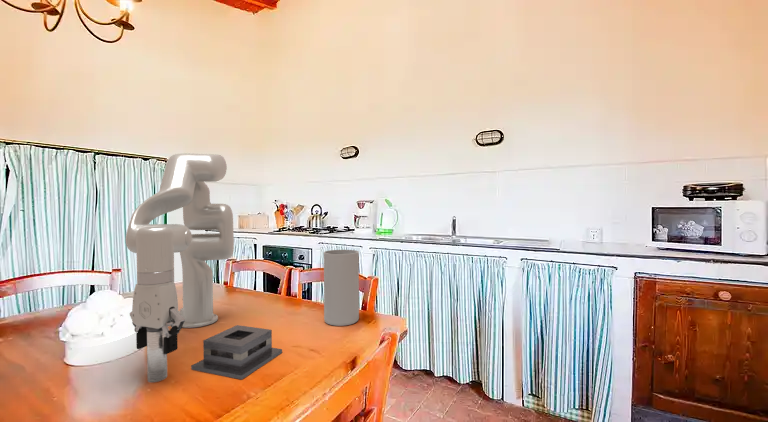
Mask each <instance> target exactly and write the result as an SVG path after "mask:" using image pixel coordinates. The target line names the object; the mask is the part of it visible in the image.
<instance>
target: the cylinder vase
mask: <svg viewBox="0 0 768 422" xmlns="http://www.w3.org/2000/svg"><path fill="white" fill-rule="evenodd" d="M359 252H360V251H359V250H355V249H332V250H331V249H330V250H325V251H323V319H324V320H323V321H324V322H325V323H326V324H328V325H329V326H330V325H331V326H333V327H334V326H335V327H336V326H337V327H342V326H343V327H345V326H350V325H354V324H356V323H357V322H358V321H359V318H360V283H359V282H360V281H359V280H360V278H359V277H360V275H359V274H360V273H359V272H360V271H359V268H360V266H359V265H360V264H359V263H360V261H359V258H360V255H359V254H360V253H359Z"/></svg>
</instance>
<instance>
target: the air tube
mask: <svg viewBox="0 0 768 422" xmlns="http://www.w3.org/2000/svg"><path fill="white" fill-rule="evenodd" d="M146 330H147V346H146V355H147V356H146V358H147V359H146V360H147V361H146V367H147V372H146V373H147V382H148V383H158V382H161V381H164V380H165V379H167V377H168V354H164V342H163V339H164V337H166V336H165V334H164V332H163V330H162V328H159V329H155V328H148V327H146Z"/></svg>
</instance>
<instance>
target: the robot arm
mask: <svg viewBox="0 0 768 422" xmlns="http://www.w3.org/2000/svg"><path fill="white" fill-rule="evenodd" d="M227 168H228V167H227V162H226V159H225V157H224V156H223V155H222V154H211V153H208V154H207V153H191V152H190V153H188V152H187V153H185V152H184V153H175V154H172V155H170V156H169V158H168V159H167V161H166V164H165V168H164V172H163V176H162V178H161V182H160V183H161V184H160V186H159V191H157V192H156V193H154V194H152V196H149V197H148V198H147V199H145V200H144V201H143V202H142V203H141V204H140V205H138V206H137V208H135V209H134V211H133V213H132V214H131V217H130V220H129V224H128V225H127V229H126V234H125V244H126V245H125V246H126V248H127V249H128V250H129V252H132V253H133V254H136V284H135V286H134V290H133V295H132V309H131V310H132V311H131V312H129V317H130V319H131V324H132V326H133V327H134V332H135V334H136V339H135V341H136V349H137V350H141V349H143V348H145V347H146V348H147V330H146V327H148V328H155V329H159V328H162V330H163V332H164V334H165V336H166V337H164V339H163V342H164V354H167V355H168V354H170V353H172V352H173V353H174V352H175V351H176V350H178V334H179V333H180V332H181V330H182V329H183V328H186V329H188V328H189V329H190V328H191V329H192V328H193V329H194V328H200V327H204V326H208V325H212V324H214V323H217V321H218V320H219V316H218V315H217V314H216V313H214V283H213V281H214V280H213V279H214V278H213V277H214V275H213V270H212V268H211V267H210V266H209V264H208V263H207V262H209V261H219V260H220V261H222V260H223V261H224V260H228V259H230V258H232V257H233V255H234V249H235V245H234V243H235V241H234V239H235V238H234V235H235V234H234V215H233V214H234V213H233V210H232V208H231V206H230V205H228V204H226V203H211V196H210V195H211V194H210V192H211V191H210V188H209V187H208V184H206V183H207V182H209V183H210V182H211V183H213V182H214V183H215V182H218V181H219V182H220V180H222V179H224V178H225V175H227V170H228V169H227ZM205 182H206V183H205ZM181 208H182V219H183V220H182V221H183V224H178V223H175V224H174V223H170V224H169V223H159V224H158V223H156V224H155V223H153V224H151V222H153V220H155V219H156V218H158V217H160V216H162V215H165V214H168V213H170V212H173V211H176V210H178V209H179V210H180V209H181ZM191 231H218V233H192V232H191ZM175 253H179V254H180V255H179V256H180V261H181V268H182V269H181V271H182V307H181V308H180V309H179V299H178V291H177V287H176V283H175ZM206 261H207V262H206ZM169 327H171V328H169Z"/></svg>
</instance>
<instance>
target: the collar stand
mask: <svg viewBox="0 0 768 422" xmlns="http://www.w3.org/2000/svg"><path fill="white" fill-rule="evenodd" d="M272 338H273V337H272V329H268V328H260V327H254V326H245V325H241V324H240V325H239V324H237V325H234V326H232V327H230V328H227V329H225V330H223V331H221V332H219V333H217V334H214V335H212V336H210V337H208V338H205V339H203V340H202V342H203V345H202V346H203V347H202V348H203V349H202V351H203V358H202V360H199V361H197V362H195V363H194V364H192V365H191V366H190V369H191V370H193V371H197V372H202V373H206V374H211V375H217V376H222V377H226V378H231V379H236V380H244V379H245V378H247V377H248V376H249V375H251V374H253V373H255V372H256V371H257V370H258V369H260V368H261V367H262V368H263V366H265V365H266V364H268V363H269V362H270V361H272V360H274V359H275V358H277V357H278V356H280V355H281V354H283V349H282V348H278V347H277V348H276V347H272V346H273V340H272Z"/></svg>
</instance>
